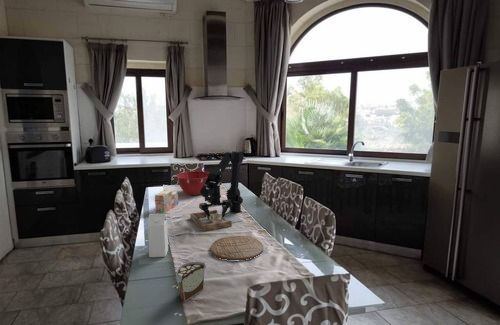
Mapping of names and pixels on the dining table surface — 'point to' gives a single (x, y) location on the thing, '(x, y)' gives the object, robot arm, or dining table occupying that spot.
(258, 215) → the dining table surface
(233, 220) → the grey mat
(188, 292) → the cake slice
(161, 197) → the colourful printed box
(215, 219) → the birch block
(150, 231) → the milk carton
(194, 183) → the mixing bowl
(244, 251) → the trivet
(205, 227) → the walnut u-shaped frame
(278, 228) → the dining table surface
